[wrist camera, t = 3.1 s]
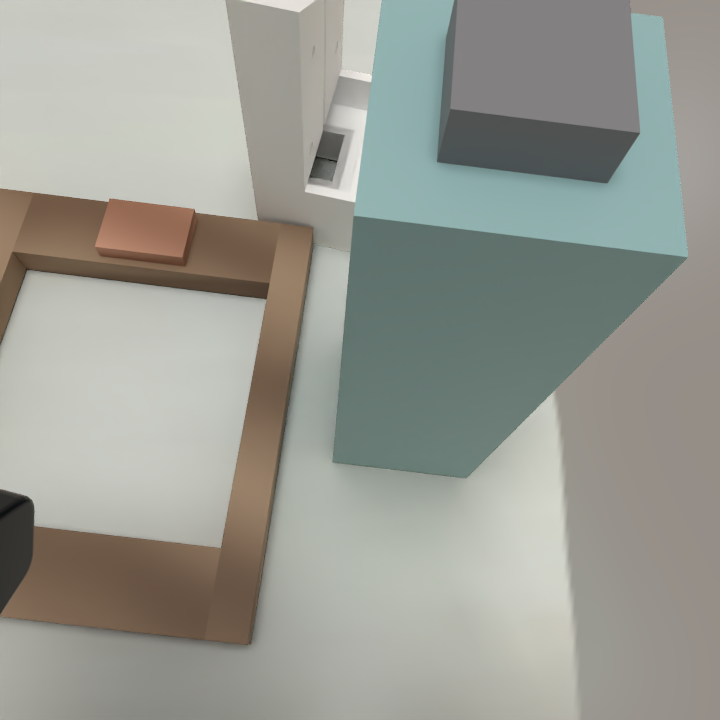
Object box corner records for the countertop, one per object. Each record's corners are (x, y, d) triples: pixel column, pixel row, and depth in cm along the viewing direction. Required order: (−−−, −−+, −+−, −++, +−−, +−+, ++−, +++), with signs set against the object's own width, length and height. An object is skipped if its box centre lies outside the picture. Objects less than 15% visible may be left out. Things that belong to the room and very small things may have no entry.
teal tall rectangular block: (466, 478, 22) (732, 213, 8) (332, 462, 21) (357, 166, 8) (471, 355, 23) (696, -43, 9) (348, 340, 23) (391, -83, 9)
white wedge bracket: (217, 300, 21) (225, -3, 15) (290, 185, 29) (311, -42, 23) (328, 324, 21) (373, 27, 15) (370, 201, 29) (409, -22, 23)
